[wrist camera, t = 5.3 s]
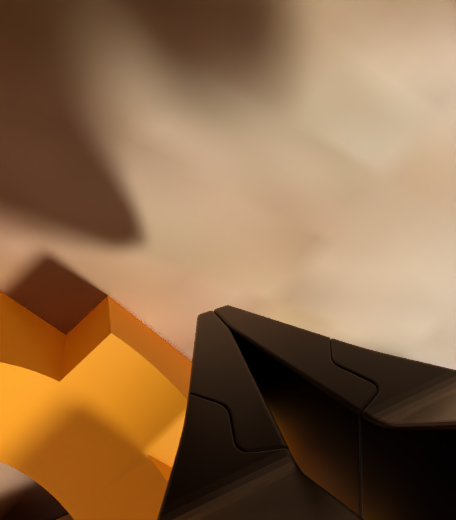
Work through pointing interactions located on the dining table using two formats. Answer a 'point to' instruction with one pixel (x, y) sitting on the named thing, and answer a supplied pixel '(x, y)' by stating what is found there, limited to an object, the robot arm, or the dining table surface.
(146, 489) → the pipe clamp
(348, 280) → the dining table surface
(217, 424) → the robot arm
